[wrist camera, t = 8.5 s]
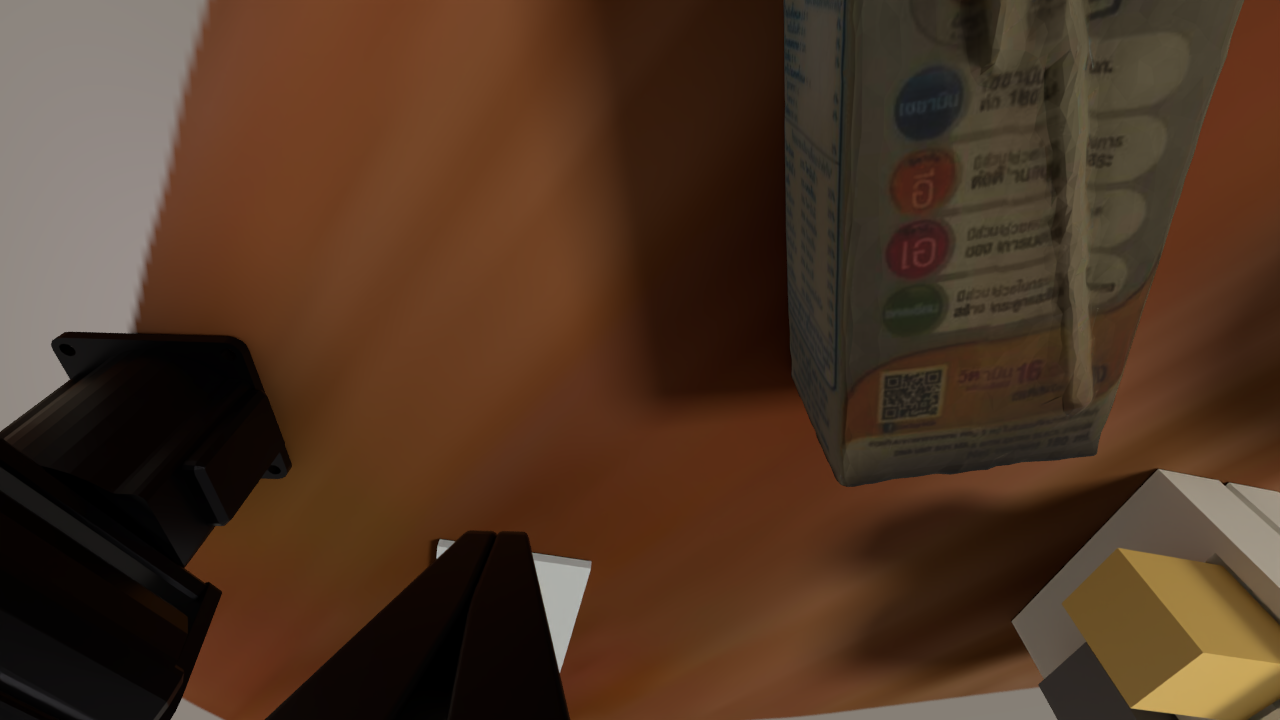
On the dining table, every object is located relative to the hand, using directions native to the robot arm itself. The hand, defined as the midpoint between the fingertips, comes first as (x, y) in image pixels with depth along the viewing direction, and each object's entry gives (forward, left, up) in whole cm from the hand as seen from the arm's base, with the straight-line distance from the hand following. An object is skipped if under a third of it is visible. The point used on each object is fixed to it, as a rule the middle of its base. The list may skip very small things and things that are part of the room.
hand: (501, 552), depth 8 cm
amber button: (+22, -12, -9) cm, 27 cm away
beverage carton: (+10, +4, -14) cm, 17 cm away
